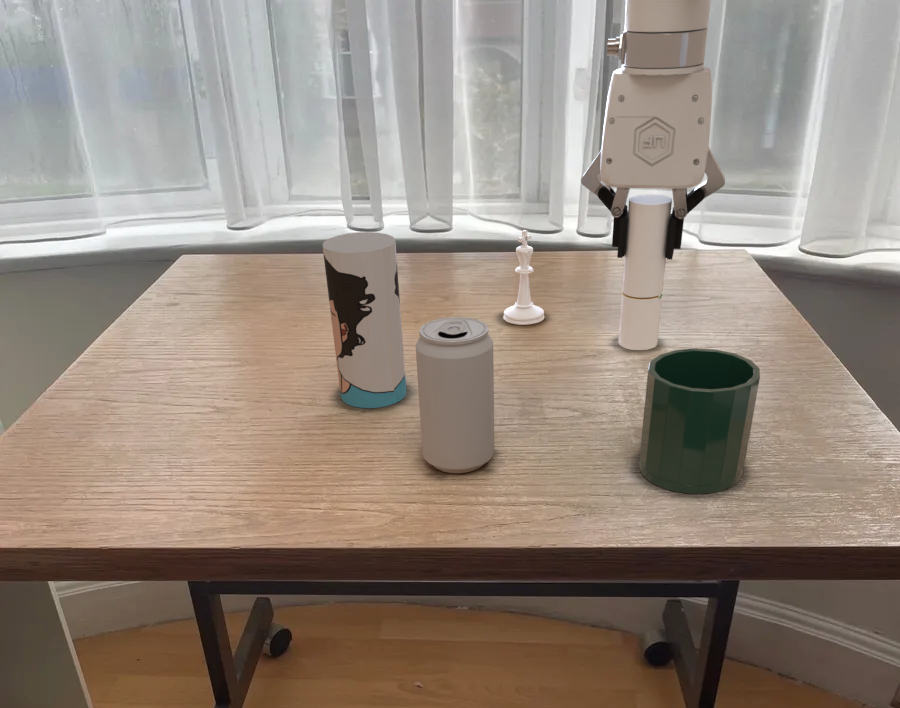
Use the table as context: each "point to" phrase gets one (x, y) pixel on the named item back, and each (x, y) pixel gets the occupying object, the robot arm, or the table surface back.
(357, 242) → the cup
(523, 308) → the chess piece
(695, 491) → the cup
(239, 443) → the table surface
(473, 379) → the beverage can
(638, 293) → the tube
